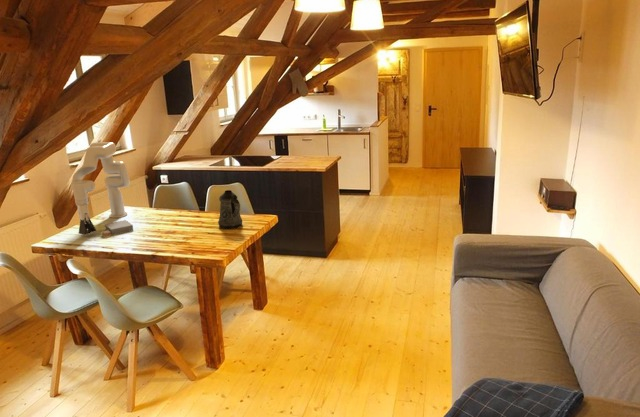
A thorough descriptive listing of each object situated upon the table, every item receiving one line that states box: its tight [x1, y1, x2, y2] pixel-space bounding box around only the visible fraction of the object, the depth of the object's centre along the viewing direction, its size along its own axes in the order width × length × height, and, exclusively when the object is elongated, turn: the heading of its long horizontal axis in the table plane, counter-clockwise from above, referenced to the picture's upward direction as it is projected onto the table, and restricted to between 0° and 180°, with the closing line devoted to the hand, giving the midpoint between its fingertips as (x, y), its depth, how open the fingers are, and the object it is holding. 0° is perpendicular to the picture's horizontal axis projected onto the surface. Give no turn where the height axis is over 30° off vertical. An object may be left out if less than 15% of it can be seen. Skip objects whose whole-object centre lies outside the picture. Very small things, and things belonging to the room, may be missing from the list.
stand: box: [104, 219, 134, 236], centre depth 321 cm, size 16×14×4 cm
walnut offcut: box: [101, 230, 112, 238], centre depth 310 cm, size 5×4×3 cm
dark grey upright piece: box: [217, 189, 243, 230], centre depth 320 cm, size 16×19×25 cm
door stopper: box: [78, 217, 97, 236], centre depth 309 cm, size 9×6×12 cm, turn 152°
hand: (86, 227), depth 310 cm, fingers closed on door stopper, 6 cm apart
